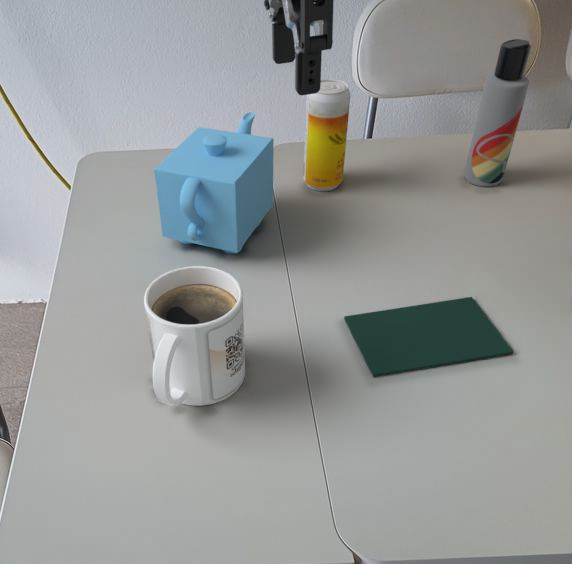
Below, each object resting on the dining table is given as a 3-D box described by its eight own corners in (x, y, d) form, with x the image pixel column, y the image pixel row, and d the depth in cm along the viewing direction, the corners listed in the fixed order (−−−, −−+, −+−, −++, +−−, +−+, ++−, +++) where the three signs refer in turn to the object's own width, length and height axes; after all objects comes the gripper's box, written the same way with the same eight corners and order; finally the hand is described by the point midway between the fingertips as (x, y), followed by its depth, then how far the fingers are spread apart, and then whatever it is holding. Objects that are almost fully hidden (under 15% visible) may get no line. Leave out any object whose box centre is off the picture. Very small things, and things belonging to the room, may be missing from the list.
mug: (265, 387, 69) (265, 307, 61) (165, 433, 65) (152, 353, 57) (217, 332, 76) (212, 254, 68) (123, 371, 72) (107, 292, 64)
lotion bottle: (496, 190, 96) (534, 50, 83) (458, 182, 99) (489, 44, 85) (506, 174, 100) (544, 37, 86) (469, 166, 102) (500, 32, 89)
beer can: (345, 191, 98) (354, 93, 88) (305, 193, 98) (309, 95, 88) (339, 172, 103) (347, 76, 93) (301, 174, 103) (305, 78, 93)
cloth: (471, 299, 78) (471, 296, 78) (512, 354, 71) (513, 351, 71) (344, 318, 77) (344, 316, 76) (373, 377, 69) (373, 374, 69)
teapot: (229, 275, 84) (225, 178, 75) (154, 258, 88) (141, 163, 78) (287, 194, 99) (289, 105, 89) (220, 182, 102) (216, 95, 93)
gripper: (373, -122, 47) (356, 99, 58) (316, -144, 57) (311, 47, 68) (273, -111, 46) (275, 111, 57) (233, -135, 57) (242, 57, 68)
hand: (295, 76), depth 63 cm, fingers open, 8 cm apart
